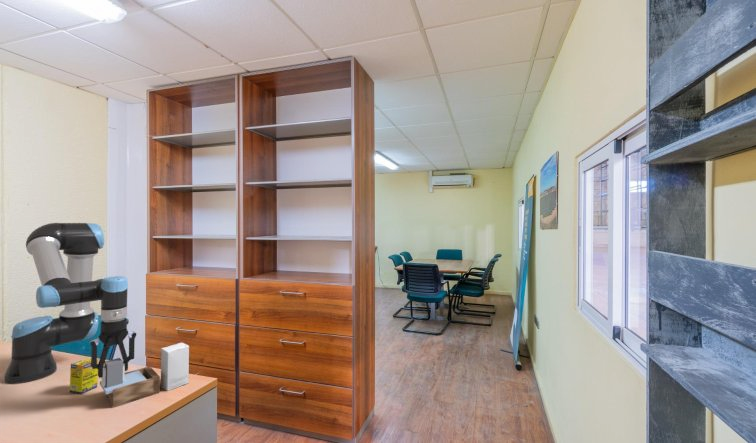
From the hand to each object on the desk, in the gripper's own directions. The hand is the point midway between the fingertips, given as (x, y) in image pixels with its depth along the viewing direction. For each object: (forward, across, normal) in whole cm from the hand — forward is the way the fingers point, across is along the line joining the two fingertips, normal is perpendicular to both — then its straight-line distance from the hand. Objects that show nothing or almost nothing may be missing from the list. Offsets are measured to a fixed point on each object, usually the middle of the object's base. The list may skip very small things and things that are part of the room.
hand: (113, 382), depth 120 cm
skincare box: (+7, +19, -4) cm, 21 cm away
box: (+6, +6, 0) cm, 9 cm away
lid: (+1, +3, 0) cm, 3 cm away
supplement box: (+7, -6, +17) cm, 19 cm away
